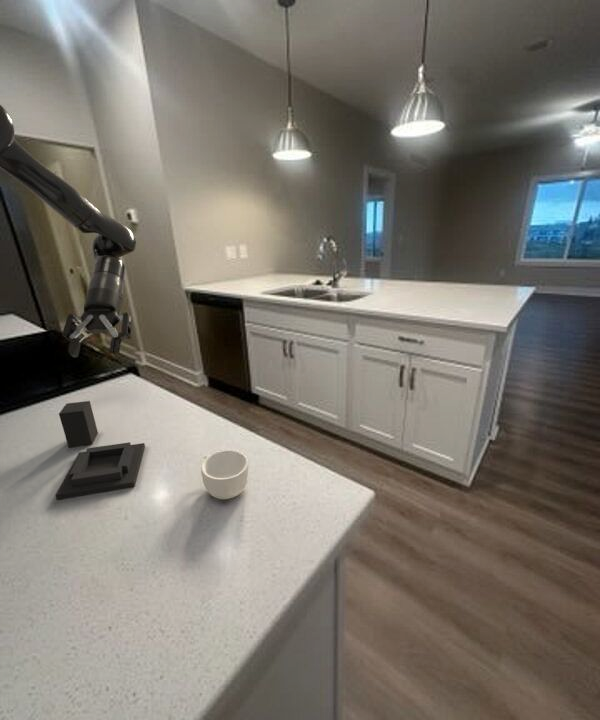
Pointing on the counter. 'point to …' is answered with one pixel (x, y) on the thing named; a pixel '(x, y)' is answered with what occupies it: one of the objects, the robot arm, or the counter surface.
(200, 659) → the counter surface
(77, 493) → the base pad
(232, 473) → the teacup
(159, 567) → the counter surface
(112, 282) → the robot arm
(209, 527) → the counter surface
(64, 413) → the dark grey rectangular block
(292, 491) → the counter surface
